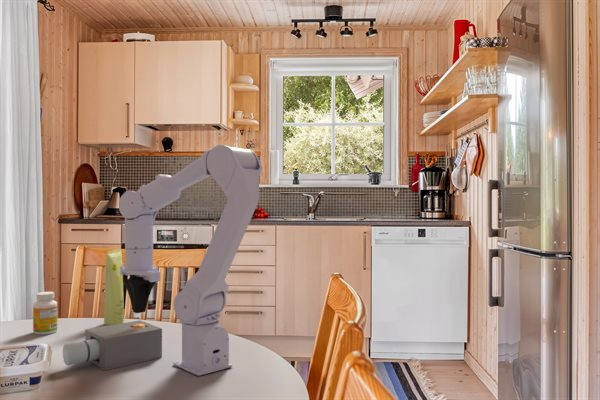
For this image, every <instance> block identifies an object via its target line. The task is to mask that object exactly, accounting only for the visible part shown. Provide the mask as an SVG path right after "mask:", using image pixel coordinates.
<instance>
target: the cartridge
mask: <svg viewBox="0 0 600 400" xmlns="http://www.w3.org/2000/svg"><path fill="white" fill-rule="evenodd" d="M62 358H63V363H64V364H65V365H66V366H72V365H76V364H81V363H86V362H90V361H91V360H96V359H100V340H99V339H91V340H85V339H84V340H82V341H75V342H72V343H71V342H70V343H65V344H64V345H63V348H62Z"/></svg>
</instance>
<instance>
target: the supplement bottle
mask: <svg viewBox="0 0 600 400" xmlns="http://www.w3.org/2000/svg"><path fill="white" fill-rule="evenodd" d="M55 296H56V295H55V292H54V291H40V292H37V293H36V301H35V302H34V303H33V307H32V310H33V311H32V320H33V321H32V327H33V328H32V330H33V334H35V335H38V336H39V335H40V336H44V335H50V334H54V333H57V332H58V301H56V300H54V299H55Z"/></svg>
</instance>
